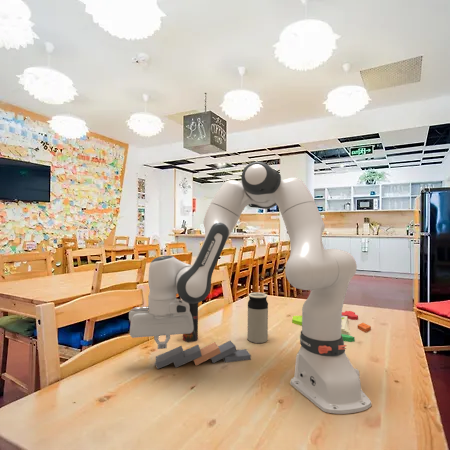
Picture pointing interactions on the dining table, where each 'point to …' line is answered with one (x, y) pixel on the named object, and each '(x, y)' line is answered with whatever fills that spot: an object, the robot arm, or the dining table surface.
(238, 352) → the domino
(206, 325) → the dining table surface
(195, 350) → the domino
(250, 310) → the travel mug
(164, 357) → the domino
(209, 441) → the dining table surface
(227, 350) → the domino
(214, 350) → the domino
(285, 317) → the dining table surface
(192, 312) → the deodorant
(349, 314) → the pattern blocks set
